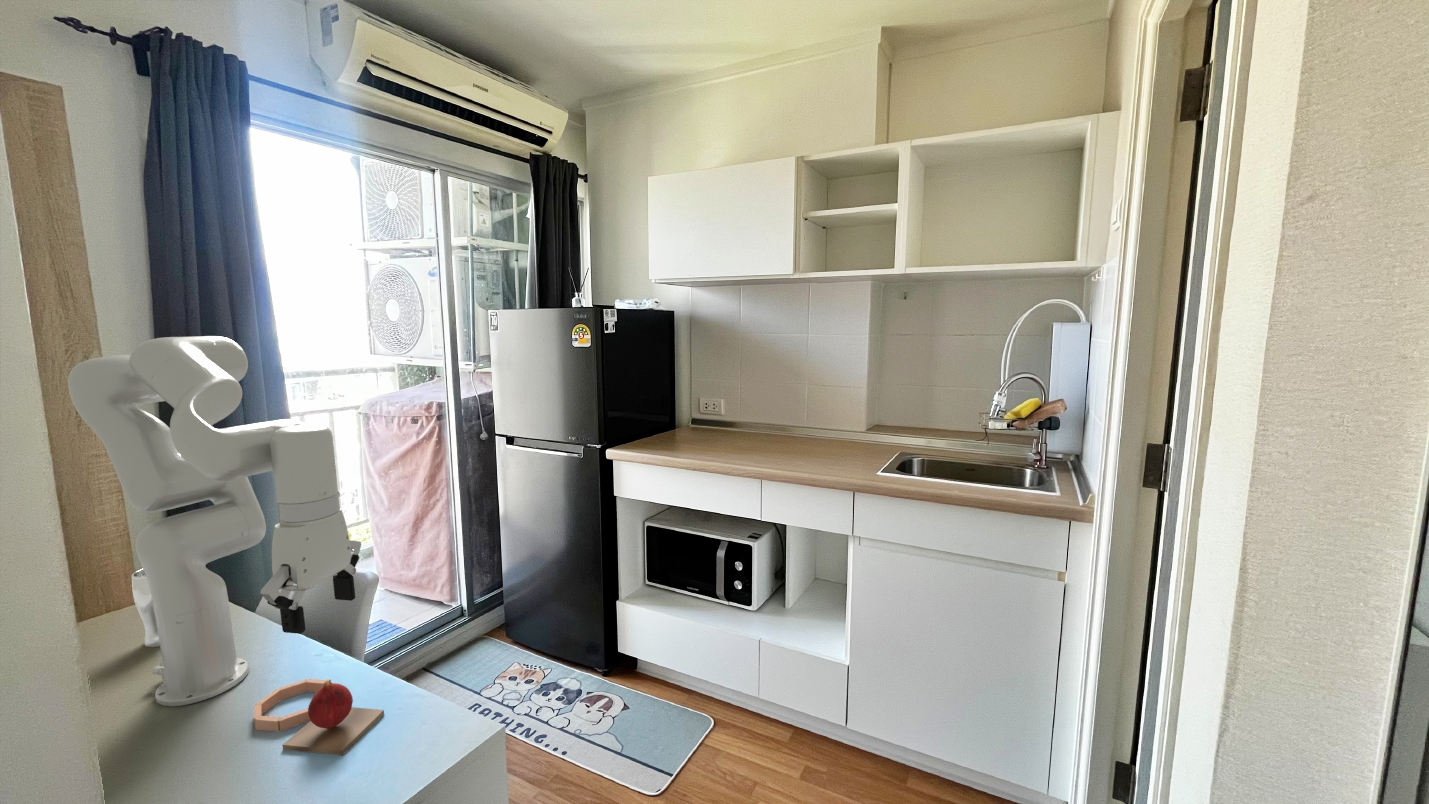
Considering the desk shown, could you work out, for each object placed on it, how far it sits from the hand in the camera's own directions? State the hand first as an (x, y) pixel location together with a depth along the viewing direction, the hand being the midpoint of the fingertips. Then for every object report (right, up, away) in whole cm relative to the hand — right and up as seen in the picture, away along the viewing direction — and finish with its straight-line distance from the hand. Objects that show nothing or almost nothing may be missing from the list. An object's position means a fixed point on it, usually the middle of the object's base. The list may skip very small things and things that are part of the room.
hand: (321, 614), depth 88 cm
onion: (0, -19, +3) cm, 19 cm away
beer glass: (-52, -16, +30) cm, 63 cm away
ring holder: (-10, -19, +8) cm, 23 cm away
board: (0, -20, +3) cm, 20 cm away
